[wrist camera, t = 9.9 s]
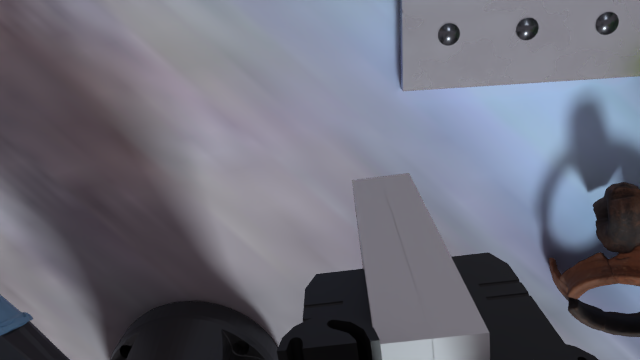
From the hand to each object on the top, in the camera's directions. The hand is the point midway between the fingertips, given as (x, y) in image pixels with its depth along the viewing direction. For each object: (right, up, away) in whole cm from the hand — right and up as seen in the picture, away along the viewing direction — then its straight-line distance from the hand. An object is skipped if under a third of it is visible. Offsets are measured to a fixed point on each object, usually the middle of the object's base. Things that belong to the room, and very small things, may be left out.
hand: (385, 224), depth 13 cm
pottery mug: (+20, -3, +24) cm, 32 cm away
